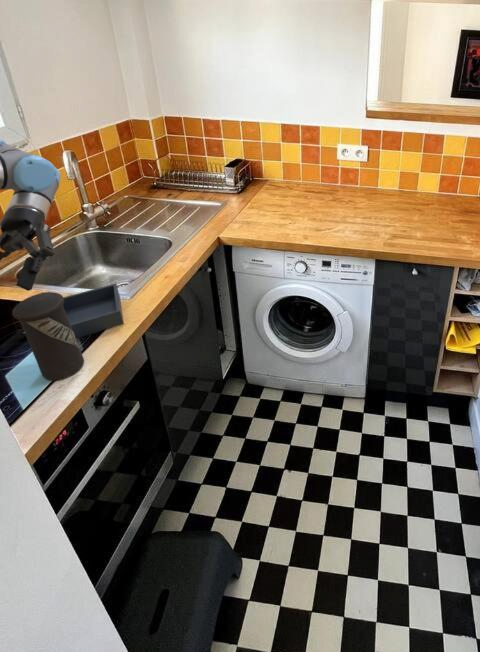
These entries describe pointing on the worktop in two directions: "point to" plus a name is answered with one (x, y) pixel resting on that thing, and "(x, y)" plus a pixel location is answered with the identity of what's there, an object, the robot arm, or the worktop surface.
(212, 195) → the worktop surface
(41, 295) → the container
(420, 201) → the worktop surface
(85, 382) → the worktop surface
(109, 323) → the tote
